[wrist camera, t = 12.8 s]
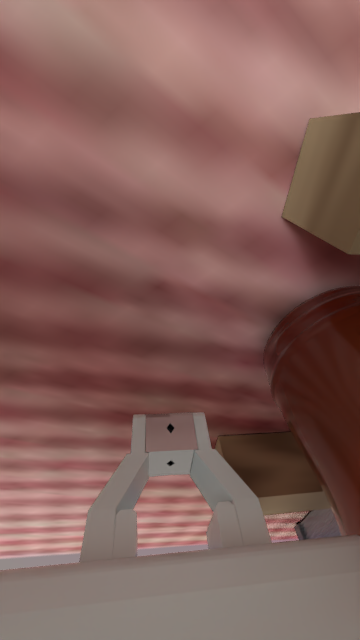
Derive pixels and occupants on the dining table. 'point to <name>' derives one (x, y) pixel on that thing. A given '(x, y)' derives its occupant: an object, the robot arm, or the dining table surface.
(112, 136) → the dining table surface
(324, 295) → the mug
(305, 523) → the gate
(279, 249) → the dining table surface
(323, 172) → the wooden blocks
